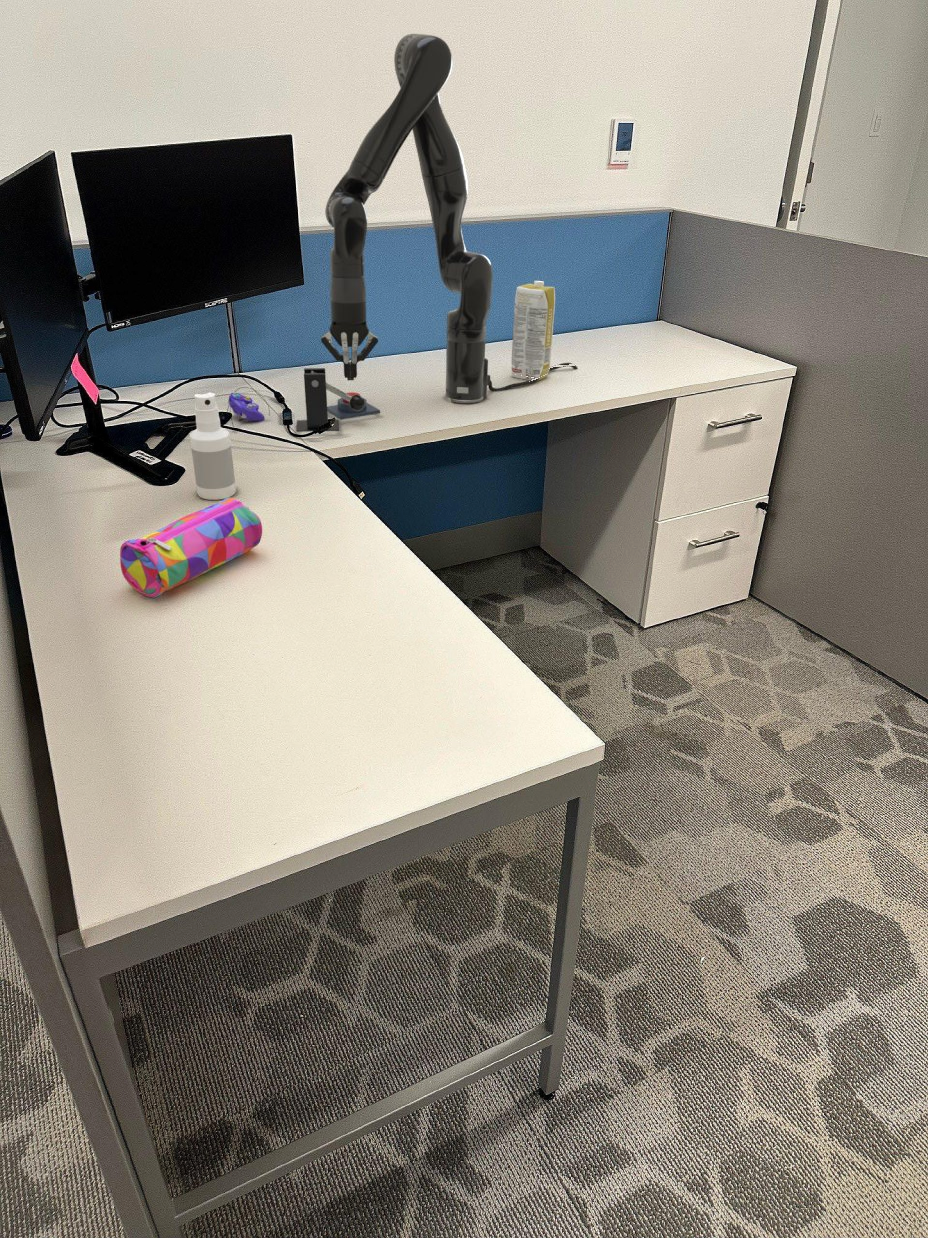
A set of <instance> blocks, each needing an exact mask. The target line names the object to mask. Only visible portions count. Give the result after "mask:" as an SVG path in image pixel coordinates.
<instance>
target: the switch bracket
mask: <svg viewBox="0 0 928 1238" xmlns="http://www.w3.org/2000/svg"><path fill="white" fill-rule="evenodd" d="M311 371H314V372H316V373H311ZM303 381H304V383H303V385H304V398H305V413H306V415H305V416H306V419H300V420H299V419H298V420H296V431H295V432H296V433H297V432H298V433H301V432H317V431H316V429H317V428H319V427H321V426H322V425H324V424H326V423H328V420H329V415H328V413H329V412H327V407H328V398H327V397H328V396H327V395H328V394H327V389H326V383H327V378H326V368H325V367H305V368H303ZM334 420H335V422H334V425H333V426H332V427H331V428H329V429H325V430H321V431H320V432H339V431H340V423H339V422H340V421H339V420H340V419H334Z"/></svg>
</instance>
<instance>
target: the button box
mask: <svg viewBox="0 0 928 1238" xmlns="http://www.w3.org/2000/svg"><path fill="white" fill-rule="evenodd" d="M364 400H365V406H364V408H363V409H362V410H360V411H355V410H353V409H351V407H350V405H349V403H345V402H344V399H343V398H341V397H340V398H338V399H337V403H336V404H335V405H327V412H328V413H329V414H330V415H332V416H334V417H336V418H337V419H338V420H340V421H341V420H347V419H353V418H360V417H365V416H371V415H376V414H377V415H378V414H381V410H380V409H379V408H378V407H376V406H374V405H372V404H370V403H369V402H368V400H367V398H364Z"/></svg>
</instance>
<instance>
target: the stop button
mask: <svg viewBox="0 0 928 1238" xmlns="http://www.w3.org/2000/svg"><path fill="white" fill-rule="evenodd" d="M345 393H346V394H348V395H350V396H351V397H352V396H353V395H360V396H361V394H360V393H358V392H353V391H351V392H345ZM344 402H345V403H349V401H347V400H345V399H344Z"/></svg>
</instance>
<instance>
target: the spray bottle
mask: <svg viewBox="0 0 928 1238" xmlns="http://www.w3.org/2000/svg"><path fill="white" fill-rule="evenodd" d="M194 403H195V404H194V405H195V406H194V412H195V413H194V414H195V425H196V429H194V430H192V431H191V433H189V442H190V447H191V448H190V449H191V456H192V457H191V458H192V464H193V472H194V478H195V479H194V480H195V486H196V492H197V495H198V497H200V498H202V499H204V500H210V501H211V500H212V501H213V500H215V501H216V500H224V499H226V498H231V497H232V496H234V495H235V494H236V492H237V487H236V478H235V468H234V459H233V450H232V443H231V435H230V432H229V431H228V430H227V429H226V428H223V427H222V426H221V418H220V415H219V413H220V412H219V407H218V405H217V400H216V394H215V393H214V392H207V393H203V394H200V393H199V394H198V393H195V394H194Z"/></svg>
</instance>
